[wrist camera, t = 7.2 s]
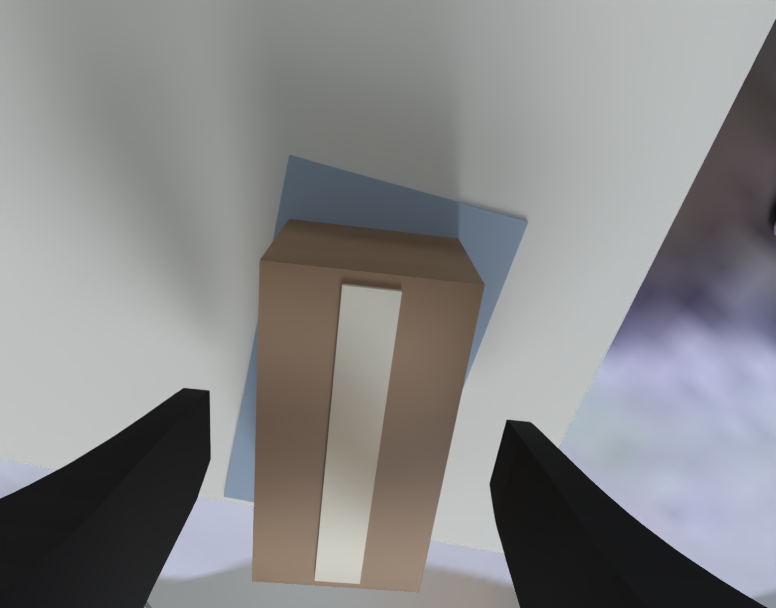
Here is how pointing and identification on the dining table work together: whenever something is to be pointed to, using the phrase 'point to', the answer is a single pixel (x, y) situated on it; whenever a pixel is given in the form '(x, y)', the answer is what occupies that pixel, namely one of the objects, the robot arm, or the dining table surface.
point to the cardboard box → (356, 400)
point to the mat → (336, 194)
